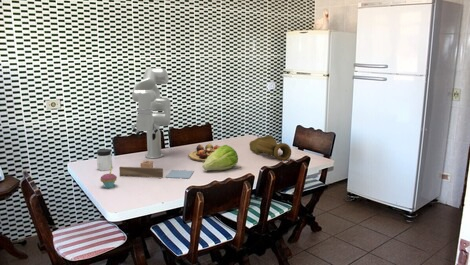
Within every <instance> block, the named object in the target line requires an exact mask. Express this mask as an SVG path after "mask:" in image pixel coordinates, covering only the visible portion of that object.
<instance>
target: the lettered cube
mask: <svg viewBox="0 0 470 265" xmlns="http://www.w3.org/2000/svg"><path fill="white" fill-rule="evenodd" d="M140 167H143V168H154V161H153V160H142V161H141V162H140Z"/></svg>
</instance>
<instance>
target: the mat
mask: <svg viewBox="0 0 470 265" xmlns="http://www.w3.org/2000/svg"><path fill="white" fill-rule="evenodd" d="M194 172H195V170H188V169H187V170H186V169H185V170H179V169H171V170H170V171H169V173H168V174H167V175H166V176H165V179H180V178H182V179H183V180H189V179H191V177H192V176H193V173H194ZM182 179H181V180H182Z"/></svg>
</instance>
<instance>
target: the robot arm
mask: <svg viewBox="0 0 470 265" xmlns="http://www.w3.org/2000/svg"><path fill="white" fill-rule="evenodd" d="M142 76H143V78H142V80H140V81H139V82H138V83H135V85H134V87H133V90H132V92H131V93H132V94H131V98H132V100H133V101H134V102H135V103H138V104H137V105H138V109H136V110H135V111H136V112H137V114H136V123H135V124H133V125H131V128H132V130H133V132H134V133H135V137H136V140H140V139H141V136H140V134H141V133H140V132H143V131H144V132H146V143H147V144H146V146H147V148H146V149H147V153H146V154H145V155H144V156H145V158H147V159H160V158H163V157H164V153H162V141H161V138H162V134H161V130H160V128H161V127H168V126H170V124H171V107H172V106H171V100H170V99H169V98H168V97H161V91H160V89H159V87H158V86H157V85H166V84H168V83H169V73H168V71H167V70H166V69H165V68H163V67H161V68H160V67H159V68H157V67H153V68H152V67H150V68H147V69H145V71H144V74H143V75H142Z"/></svg>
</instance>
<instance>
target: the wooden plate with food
mask: <svg viewBox="0 0 470 265" xmlns="http://www.w3.org/2000/svg"><path fill="white" fill-rule="evenodd" d="M221 146H222V145H221ZM221 146H219V145H218V144H217V145H216V144H215V145H214V146H213V144H211V143H208V144H206V145H205V147H204V146H203V145H202V144H197V145H196V149H195V150H192V151H191V152H189V153H188V158H189V159H190V160H192V161H194V162H195V161H196V162H198V163H199V162H200V163H204V162H205V160H206V159H207V157H208V156H209V155H211V154H212V153H213V152H214V151H215V150H216V149H218V148H219V147H221Z"/></svg>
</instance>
